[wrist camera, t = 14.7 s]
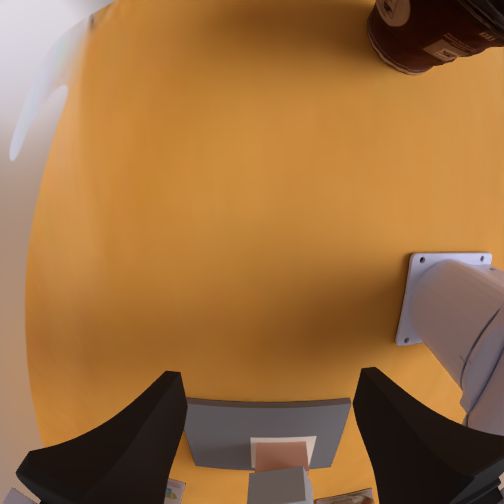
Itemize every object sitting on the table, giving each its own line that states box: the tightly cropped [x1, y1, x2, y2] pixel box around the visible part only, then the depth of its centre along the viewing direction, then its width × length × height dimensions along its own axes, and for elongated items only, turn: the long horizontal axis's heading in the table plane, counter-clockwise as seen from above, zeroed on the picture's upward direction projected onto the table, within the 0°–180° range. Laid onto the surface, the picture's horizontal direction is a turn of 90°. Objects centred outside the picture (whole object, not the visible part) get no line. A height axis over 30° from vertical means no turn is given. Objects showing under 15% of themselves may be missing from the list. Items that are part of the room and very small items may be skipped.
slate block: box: [247, 466, 314, 504], centre depth 18 cm, size 5×5×4 cm
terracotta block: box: [255, 441, 309, 476], centre depth 22 cm, size 5×5×4 cm
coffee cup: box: [367, 0, 504, 75], centre depth 8 cm, size 9×8×13 cm
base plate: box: [184, 398, 351, 470], centre depth 24 cm, size 16×12×1 cm
